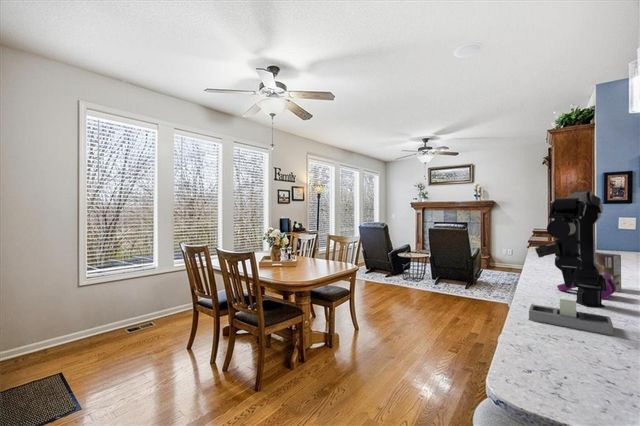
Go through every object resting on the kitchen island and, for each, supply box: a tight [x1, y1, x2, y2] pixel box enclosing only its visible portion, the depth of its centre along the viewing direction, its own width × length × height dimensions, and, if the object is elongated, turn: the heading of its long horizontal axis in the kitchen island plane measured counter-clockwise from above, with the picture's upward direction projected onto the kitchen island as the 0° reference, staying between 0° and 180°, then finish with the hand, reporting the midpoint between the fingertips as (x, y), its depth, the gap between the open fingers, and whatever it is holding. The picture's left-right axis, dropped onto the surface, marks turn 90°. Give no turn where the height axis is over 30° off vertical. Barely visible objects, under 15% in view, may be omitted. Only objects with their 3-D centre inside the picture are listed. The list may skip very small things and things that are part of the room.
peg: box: [559, 295, 577, 317], centre depth 95 cm, size 4×4×8 cm
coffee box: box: [595, 251, 622, 293], centre depth 134 cm, size 9×6×16 cm
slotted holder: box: [528, 303, 614, 337], centre depth 95 cm, size 20×9×3 cm, turn 50°
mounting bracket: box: [556, 273, 617, 300], centre depth 127 cm, size 9×8×18 cm
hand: (567, 284), depth 95 cm, fingers open, 9 cm apart
